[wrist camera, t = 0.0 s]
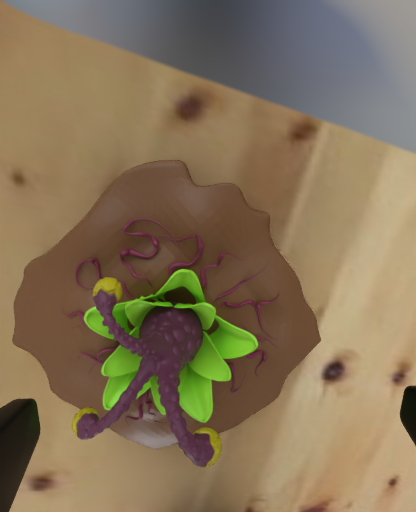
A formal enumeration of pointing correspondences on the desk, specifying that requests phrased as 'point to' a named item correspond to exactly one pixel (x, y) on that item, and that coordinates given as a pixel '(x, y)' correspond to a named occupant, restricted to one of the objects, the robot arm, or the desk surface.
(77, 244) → the plant
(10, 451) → the robot arm
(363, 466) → the desk surface
